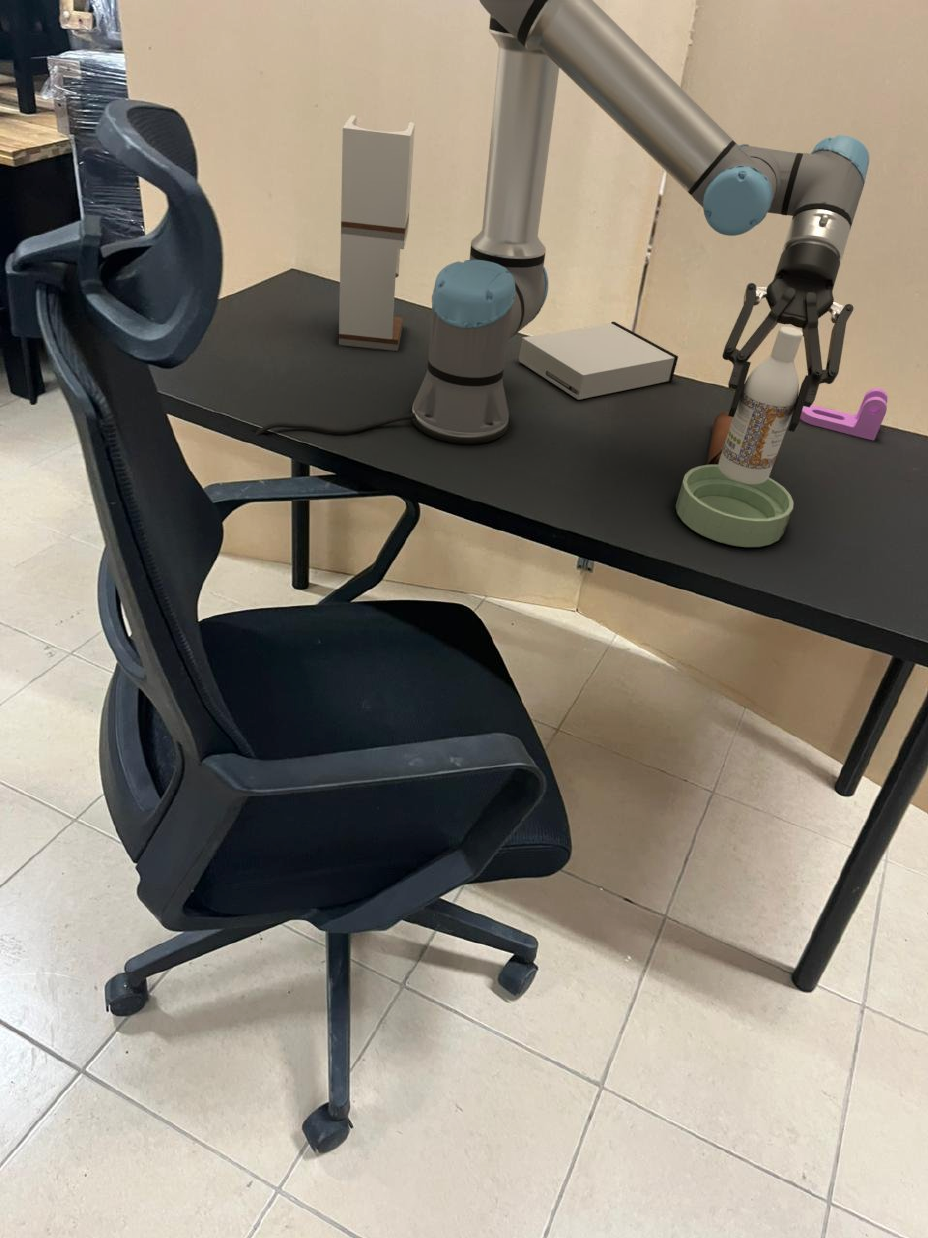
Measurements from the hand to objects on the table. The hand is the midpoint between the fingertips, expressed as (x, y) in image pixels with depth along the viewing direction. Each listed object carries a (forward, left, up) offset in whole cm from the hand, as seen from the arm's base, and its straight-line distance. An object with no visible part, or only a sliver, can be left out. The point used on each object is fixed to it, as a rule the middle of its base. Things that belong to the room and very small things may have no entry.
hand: (762, 419), depth 114 cm
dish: (+1, +3, -17) cm, 17 cm away
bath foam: (+1, +3, -10) cm, 10 cm away
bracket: (+26, +41, -17) cm, 51 cm away
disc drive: (-16, +50, -17) cm, 56 cm away
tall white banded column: (-58, +54, -17) cm, 81 cm away
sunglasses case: (+5, +23, -17) cm, 29 cm away
